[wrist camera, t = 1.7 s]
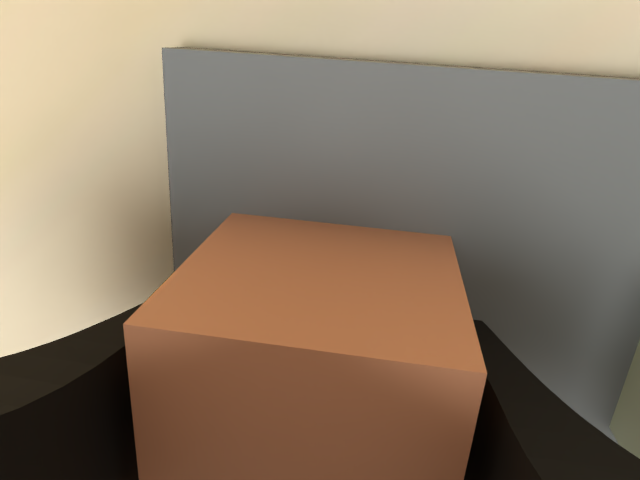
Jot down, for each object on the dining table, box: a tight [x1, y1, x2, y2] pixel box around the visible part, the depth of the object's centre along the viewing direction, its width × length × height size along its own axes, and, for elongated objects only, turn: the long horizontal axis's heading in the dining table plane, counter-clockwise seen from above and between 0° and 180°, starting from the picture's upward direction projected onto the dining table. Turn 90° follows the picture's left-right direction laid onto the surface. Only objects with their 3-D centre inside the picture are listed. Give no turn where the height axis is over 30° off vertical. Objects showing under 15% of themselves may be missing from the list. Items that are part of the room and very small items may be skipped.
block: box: [123, 213, 487, 480], centre depth 10 cm, size 5×5×5 cm
